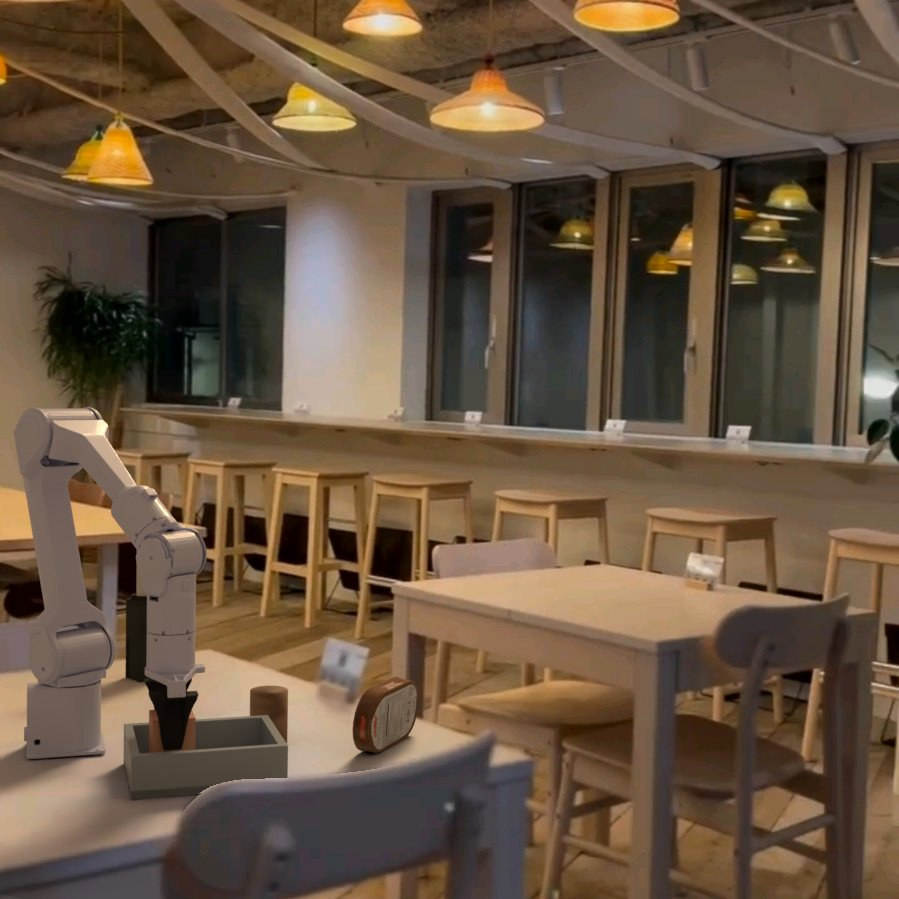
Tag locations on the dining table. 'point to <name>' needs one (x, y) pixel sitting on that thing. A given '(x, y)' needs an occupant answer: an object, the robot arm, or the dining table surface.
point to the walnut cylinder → (271, 705)
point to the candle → (136, 632)
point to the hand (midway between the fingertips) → (170, 742)
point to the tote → (205, 757)
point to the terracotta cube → (155, 737)
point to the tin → (385, 715)
